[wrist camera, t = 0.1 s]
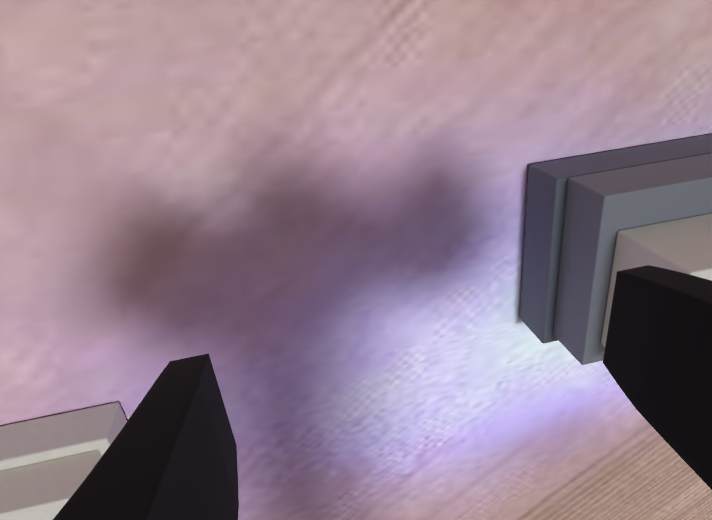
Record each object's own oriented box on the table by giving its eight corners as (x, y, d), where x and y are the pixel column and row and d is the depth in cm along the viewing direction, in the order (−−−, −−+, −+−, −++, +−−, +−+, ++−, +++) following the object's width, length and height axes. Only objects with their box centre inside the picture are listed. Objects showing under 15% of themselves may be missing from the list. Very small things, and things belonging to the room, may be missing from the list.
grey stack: (738, 272, 23) (826, 318, 20) (518, 318, 22) (570, 376, 18) (782, 121, 20) (896, 144, 16) (527, 163, 19) (592, 198, 15)
